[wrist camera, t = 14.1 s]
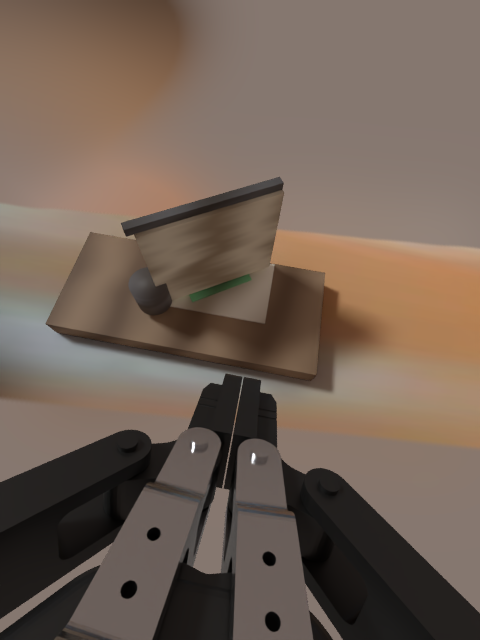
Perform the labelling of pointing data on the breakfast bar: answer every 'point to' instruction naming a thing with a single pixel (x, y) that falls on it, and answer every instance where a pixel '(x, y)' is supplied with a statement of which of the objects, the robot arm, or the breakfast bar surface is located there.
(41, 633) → the robot arm
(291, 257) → the breakfast bar surface
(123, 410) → the breakfast bar surface
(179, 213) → the dark-edged wooden panel
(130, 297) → the brown rectangular board
